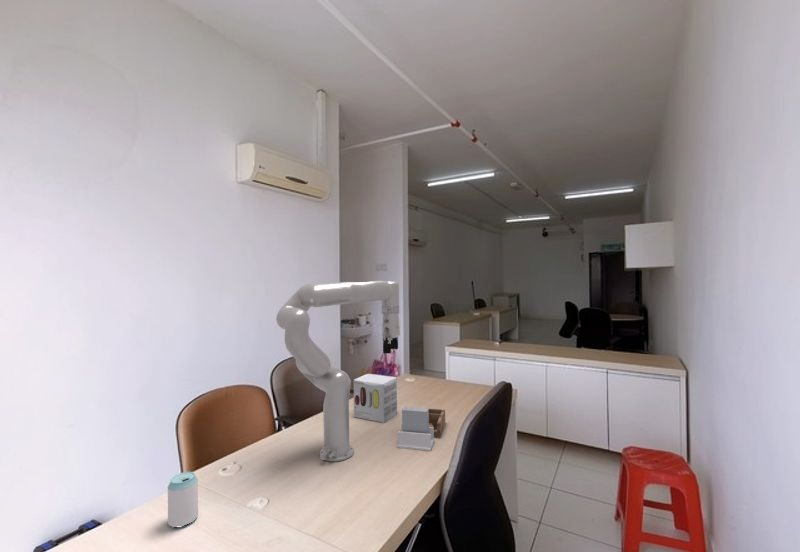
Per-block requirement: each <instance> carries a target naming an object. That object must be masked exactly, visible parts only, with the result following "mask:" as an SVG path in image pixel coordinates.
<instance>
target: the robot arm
mask: <svg viewBox="0 0 800 552" xmlns="http://www.w3.org/2000/svg"><path fill="white" fill-rule="evenodd" d="M374 301H375V302H376V301H380V303H381V315H382V325H381V327H382V329H381V330H382V333H381V335H382V353H383V354H392V350H398V349H399V337H400V335H401V332H400V331H401V328H400V317H399V315H400V284H399V282H398V281H393V280H392V281H389V280H388V281H386V280H370V281H366V282H365V281H364V282H363V281H362V282H356V281H340V282H338V281H337V282H329V283H328V282H327V283H314V284H313V283H311V284H305V285H302V286H301V287H299V288H298V289H297V290H296V292H295V293H293V295H292V296H291V297H289V298H288V300H287V301H286V302H285V303H284V304H283V306H281V307H280V309H279V310H278V311H277V313H276V319H275V320H276V323H277V325H278V326H279V328H281V329H283V330H285V331H284V345H285V347H286V350H287V352H288V353H290V355H291V356H292V357H293V358H294V359H295V365H296V368H297V370H298V371H299V372H300V373H301V374H302V375H303V376H304V377H305V378H306V379H307V380H309V382H310V383H312V384H313V385H314V386H315V388H318V390H319V389H320V390H321V391H323V392H324V393H325V396H324V400H323V405H322V407H323V408H322V409H323V412H322V413H323V414H322V415H323V447H322V448H321V449H320V451H319V459H320V460H322V461H326V462H327V461H328V462H340V461H344V460H347V459H349V458H351V457H352V456H353V455H354V451H355V450H354V447H353V446H352V445H351V443H350V405H349V404H350V393H351V392H350V391H351V386H352V383H351V382H352V381H351V378H350V376H349V375H348V373H347V372H346V371H344V370H342V369H339V368H337V367H334V366H331V365H332V364H331V360H330V357H329V356H328V355H327V354H326V353H325V352H324V351H323V350H322V349H321V348H320V347H319V346H318V345H317V344H316V343H315V342H314V340H313V339H312V338H311V337H310V335H309V328H310V322H311V318H310V315H309V313H308V311H309V310H310V308H321V307H330V306H338V305H348V304H350V305H351V304H357V303H367V302H374Z"/></svg>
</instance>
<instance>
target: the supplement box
mask: <svg viewBox="0 0 800 552" xmlns="http://www.w3.org/2000/svg"><path fill="white" fill-rule="evenodd" d="M397 379H398V378H397V376H391V375H390V376H389V375H382V374H375V373H374V374H373V373H366V374H364V375H362V376H359V377H357V378H355V379H353V418H358V419H363V420H368V421H372V422H376V423H382V424H385V423H387V422H388V421H389V420H390V419H393V418H394V417H396V416H397V415H398V387H397V385H398V383H397Z"/></svg>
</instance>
